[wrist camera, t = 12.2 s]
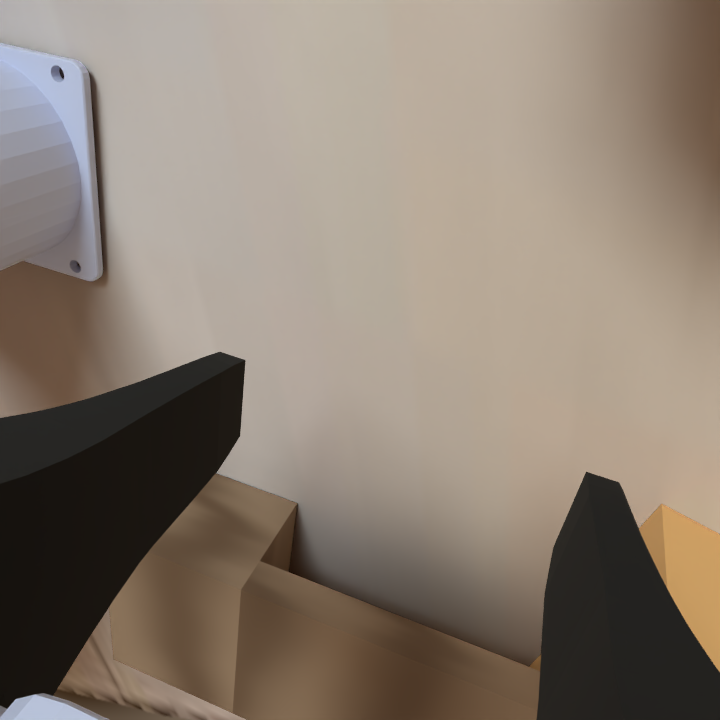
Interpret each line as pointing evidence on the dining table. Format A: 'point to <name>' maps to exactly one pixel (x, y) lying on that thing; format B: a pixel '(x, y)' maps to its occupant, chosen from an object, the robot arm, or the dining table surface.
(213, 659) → the walnut l-shaped block
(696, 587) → the light wooden mallet
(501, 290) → the dining table surface
